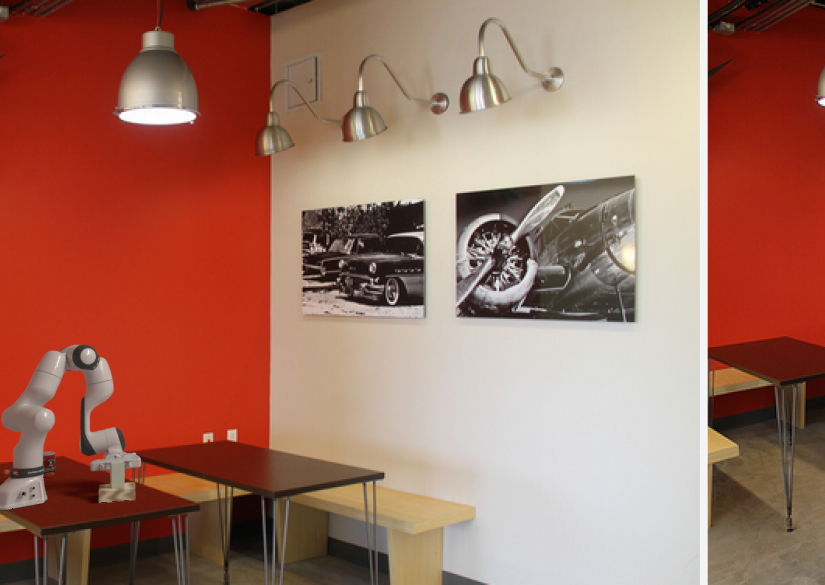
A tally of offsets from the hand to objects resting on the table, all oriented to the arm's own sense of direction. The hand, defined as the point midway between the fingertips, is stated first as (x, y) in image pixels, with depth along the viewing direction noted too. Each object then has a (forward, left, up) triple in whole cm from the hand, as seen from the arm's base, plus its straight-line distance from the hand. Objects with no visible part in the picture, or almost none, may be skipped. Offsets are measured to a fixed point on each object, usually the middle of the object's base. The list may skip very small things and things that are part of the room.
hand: (116, 467), depth 335 cm
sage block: (-2, -3, -7) cm, 8 cm away
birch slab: (-2, -3, -12) cm, 13 cm away
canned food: (+11, +65, -12) cm, 67 cm away
